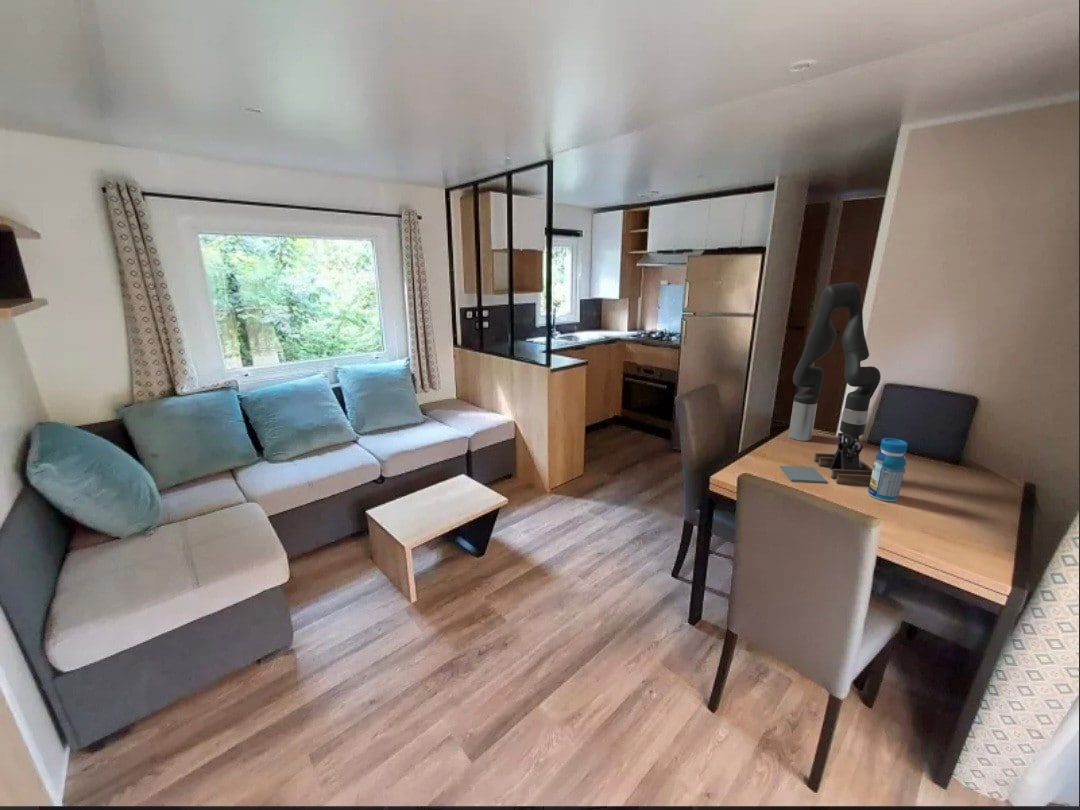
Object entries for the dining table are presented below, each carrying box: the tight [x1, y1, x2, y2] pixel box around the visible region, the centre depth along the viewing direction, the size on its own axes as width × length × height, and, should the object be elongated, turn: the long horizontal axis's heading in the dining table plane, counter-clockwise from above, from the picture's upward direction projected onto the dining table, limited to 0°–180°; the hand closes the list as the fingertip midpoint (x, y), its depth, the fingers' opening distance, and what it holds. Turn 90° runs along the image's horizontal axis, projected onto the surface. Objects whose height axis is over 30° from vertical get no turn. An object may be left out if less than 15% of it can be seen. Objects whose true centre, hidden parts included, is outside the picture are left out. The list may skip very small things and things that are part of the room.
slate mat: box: [779, 465, 828, 484], centre depth 165 cm, size 12×12×1 cm
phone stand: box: [828, 442, 860, 471], centre depth 165 cm, size 9×6×12 cm, turn 1°
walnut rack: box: [813, 452, 873, 486], centre depth 166 cm, size 20×14×4 cm
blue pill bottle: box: [867, 437, 909, 502], centre depth 146 cm, size 8×8×20 cm
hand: (845, 463), depth 165 cm, fingers closed on phone stand, 3 cm apart
